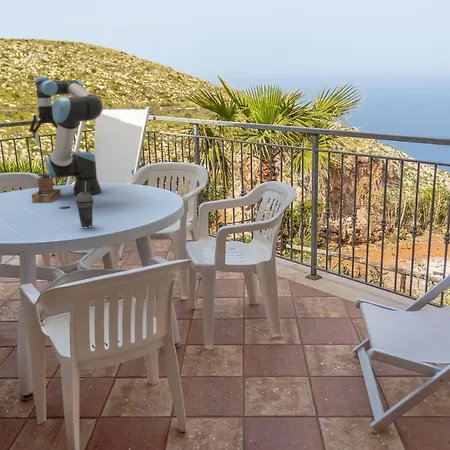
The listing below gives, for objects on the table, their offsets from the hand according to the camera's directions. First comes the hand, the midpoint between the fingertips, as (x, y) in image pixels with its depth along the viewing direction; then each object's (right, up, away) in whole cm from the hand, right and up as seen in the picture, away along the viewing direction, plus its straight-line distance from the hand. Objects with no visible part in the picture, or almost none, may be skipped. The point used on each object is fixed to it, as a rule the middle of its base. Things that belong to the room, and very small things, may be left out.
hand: (49, 144), depth 288 cm
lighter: (+4, -28, -17) cm, 33 cm away
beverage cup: (+40, -47, -69) cm, 92 cm away
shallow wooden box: (+4, -32, -16) cm, 36 cm away
